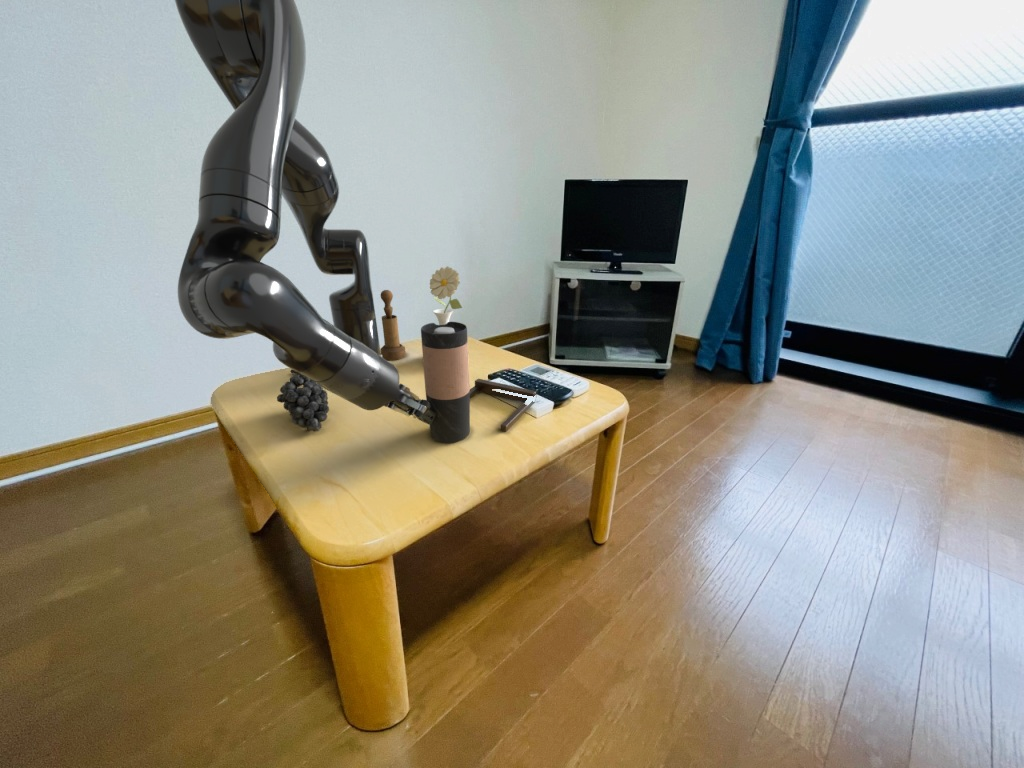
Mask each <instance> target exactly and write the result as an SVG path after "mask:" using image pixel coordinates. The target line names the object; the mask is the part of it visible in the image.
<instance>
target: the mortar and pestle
mask: <svg viewBox="0 0 1024 768" xmlns="http://www.w3.org/2000/svg"><path fill="white" fill-rule="evenodd" d="M393 295H394V294H393V292H392V291H391V290H389V289H384V290H382V291H380V299H381V301H382V302H383V303H384V307H383V311H384V314H385V315H382V316H381V324H382V333H383V341H384V345H382V347H380V353H381V355H382V357H383V358H384V359H386V360H387V361H397V360H401V359H403V358H405V357H406V356H407V352H406V347H405V345H403V344H401V343H400V335H399V323H398V316H397V315H396V314H393V310H394V307H393V306H392V305H391V302H392V300H393V299H394V296H393Z"/></svg>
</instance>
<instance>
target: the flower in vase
mask: <svg viewBox="0 0 1024 768" xmlns="http://www.w3.org/2000/svg"><path fill="white" fill-rule="evenodd" d="M460 284H461V282H460V273H459V272H457V270H456V269H453V268H452V267H450V266H449V265H448V266H445V267H443V266H442V267H440V268H439V269H436V270H435V273H433V274H431V278H430V280H429V289H430V294H431V295H432V296H433V299H434V300H435V301H436V302H438V303H439V304H441V305H442V306H444V307H445V308H436V309H433V311H432V312H433V314H434V315H435V316H436V318H437V321H438V325H445V324H447V323H448V322H450V320H451V316H452V314H453V313H454V310H458V309H463V306H462V305H461V303H460V301H459V299H458V298H454V299H452V296H453V295H454V294H455V291H457V290H458V288H459V286H460ZM446 298H449V300H448V303H447V304H446V303H445V302H443V301H442V299H443V300H444V299H446ZM449 305H450V308H448V307H449Z"/></svg>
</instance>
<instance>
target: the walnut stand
mask: <svg viewBox="0 0 1024 768" xmlns="http://www.w3.org/2000/svg"><path fill="white" fill-rule="evenodd" d="M492 389H501V390H505V391H509V392H513V393H518V394H522V395H527V396H533V397H534V396H535V395H536V396H537V390H532V389H528V388H523V387H519V386H515V385H510V384H505V383H500V382H496V381H491V380H487V379H483V378H476V379H475V380H474V386H472V387H471V388H470V399H471V398H473V397H474V396H476V395H477V394H478V393H484V394H489V395H492V396H498V397H501V398H505V399H509V400H514V401H519V402H522V403H521V405H519V407H518V408H516V409H515V411H513V412H512V413H511V414H510V415H509V416H508V417H507V418H505V420H504V421H503V422H501V424H500V431H502V432H504V433H507V432H508V430H509V429H511V428H512V426H514V424H515V423H516V422H517V421H518V420H519V419H520V418H521V417H522V416H523V415H524V414H525V413H526V412H527V411H528V410H529V409H530V408H531V407H533V405H534V404H535V403H536V402H533V401H532V402H531V403H530V404H529V405H528V406H527V405H525V404H523V403H524V402H525V401H526V400H527V398H522V397H518V396H513V395H509V394H505V393H500V392H496V391H492Z"/></svg>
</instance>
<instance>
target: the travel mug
mask: <svg viewBox="0 0 1024 768" xmlns="http://www.w3.org/2000/svg"><path fill="white" fill-rule="evenodd" d="M420 337H421V338H420V339H421V350H422V364H423V365H422V366H423V376H424V389H425V391H424V392H425V400H427V401H428V402H429V403H430V406H431V407H430V410H431V411H433V412H434V413H436V417H435V418H434V420H433V422H432V424H431V425H429V432H430V436H431V438H432V439H433V440H434V441H436V442H438V443H442V444H453V443H458V442H461V441H463V440H465V439H466V438H467V437H469V435H470V429H471V398H470V389H471V388H470V387H471V385H470V366H469V365H470V364H469V363H470V362H469V343H468V342H469V341H468V327H467V325H466V324H464V323H462V322H458V321H449V322H448V323H447V324H445V325H439V324H436V323H435V322H430V323H426V324H424V325H422V326H421V328H420Z"/></svg>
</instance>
